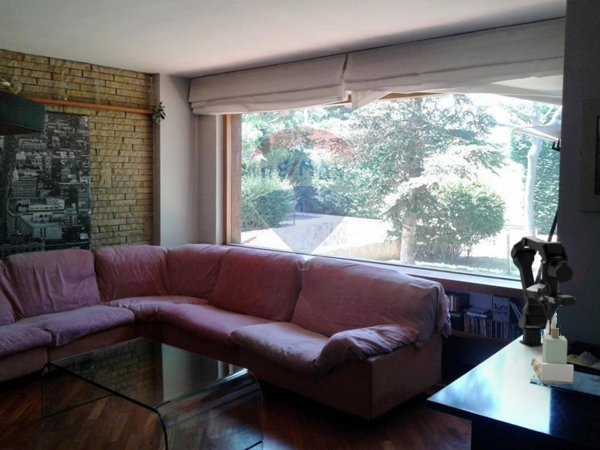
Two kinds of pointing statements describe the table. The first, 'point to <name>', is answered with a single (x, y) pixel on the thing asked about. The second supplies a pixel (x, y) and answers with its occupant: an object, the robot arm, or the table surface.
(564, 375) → the wall
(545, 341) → the sliding block
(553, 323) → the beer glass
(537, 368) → the birch rail
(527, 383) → the table surface
